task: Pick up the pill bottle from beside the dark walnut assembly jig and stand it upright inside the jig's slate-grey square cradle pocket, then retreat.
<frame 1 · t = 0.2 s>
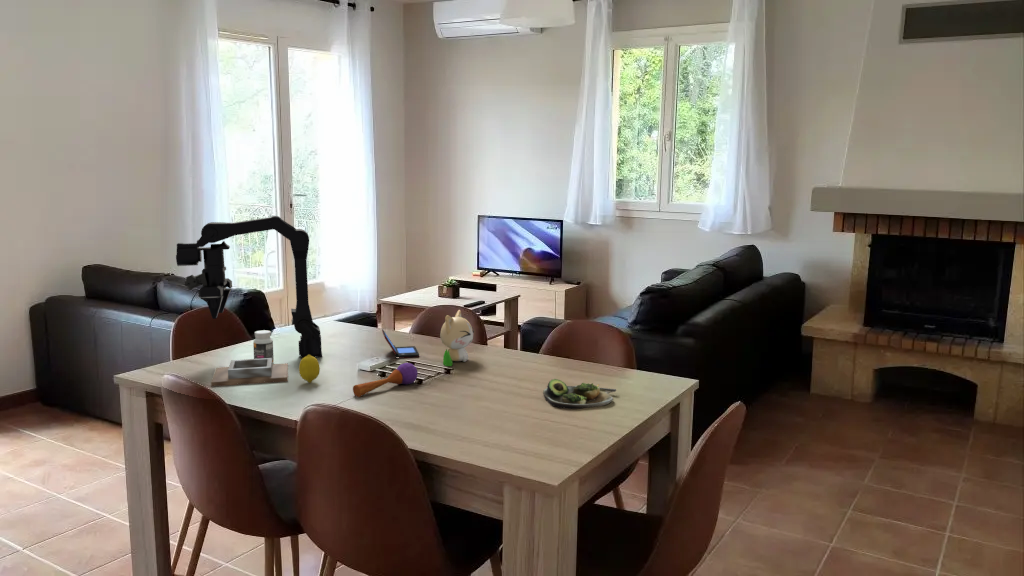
hand: (217, 315, 244), 14 cm above the table, fingers open, 9 cm apart
jig: (251, 376, 230), on the table
handheld game console: (400, 355, 257), on the table
pill bottle: (264, 364, 244), on the table
kitten: (456, 361, 248), on the table
salad plate: (575, 401, 208), on the table
lemon: (309, 383, 223), on the table
purple and orange maraca: (386, 390, 218), on the table
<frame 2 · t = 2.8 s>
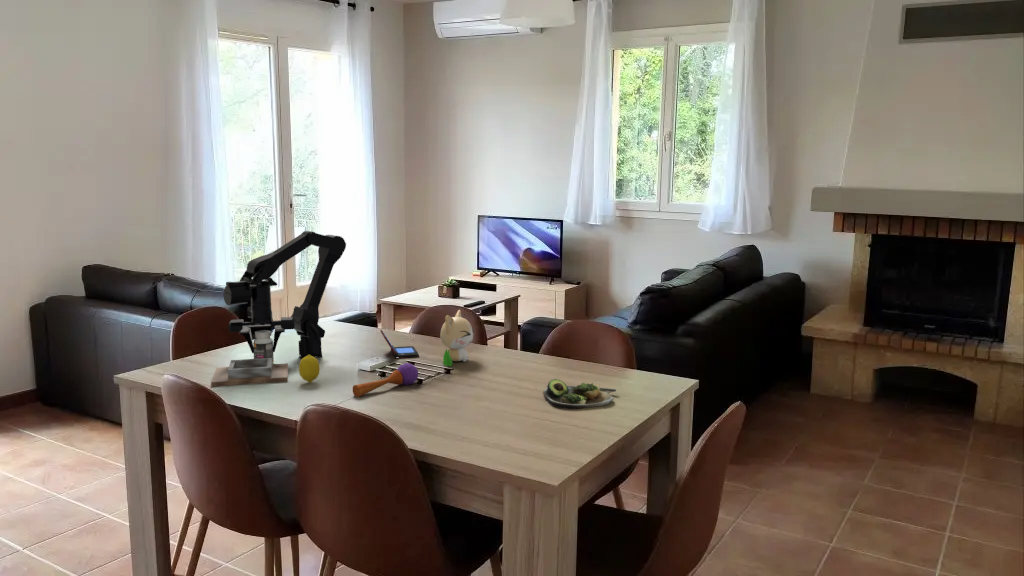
hand: (263, 352, 243), 4 cm above the table, fingers closed on pill bottle, 6 cm apart
pill bottle: (264, 364, 244), on the table, touching gripper
everything else where it was.
when the fingers open (6 cm above the table, at t = 9.5 s): pill bottle drops 1 cm, resting on jig.
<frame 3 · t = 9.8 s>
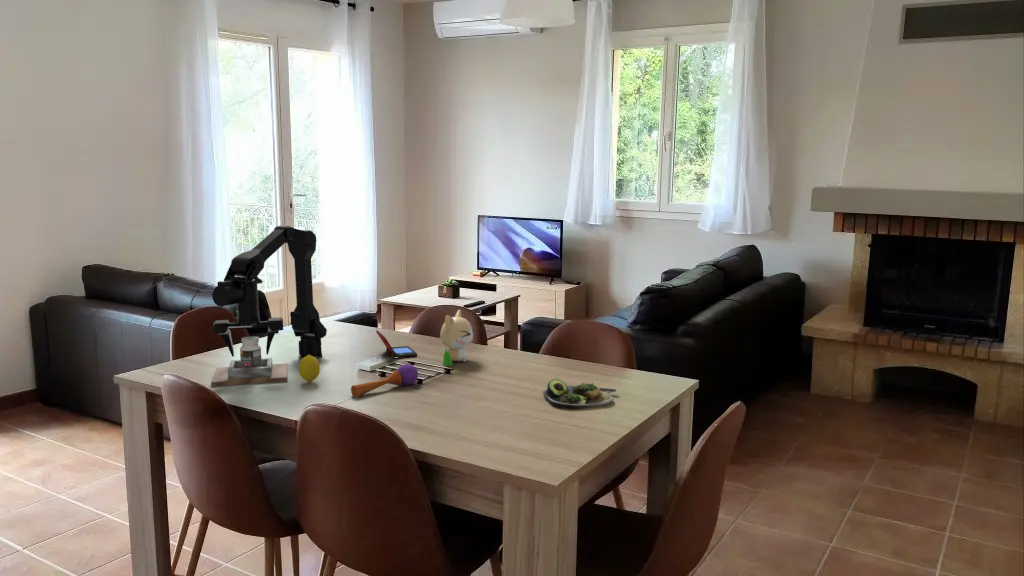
hand: (250, 355, 229), 6 cm above the table, fingers open, 9 cm apart
pill bottle: (251, 372, 230), point 1 cm above the table, touching jig
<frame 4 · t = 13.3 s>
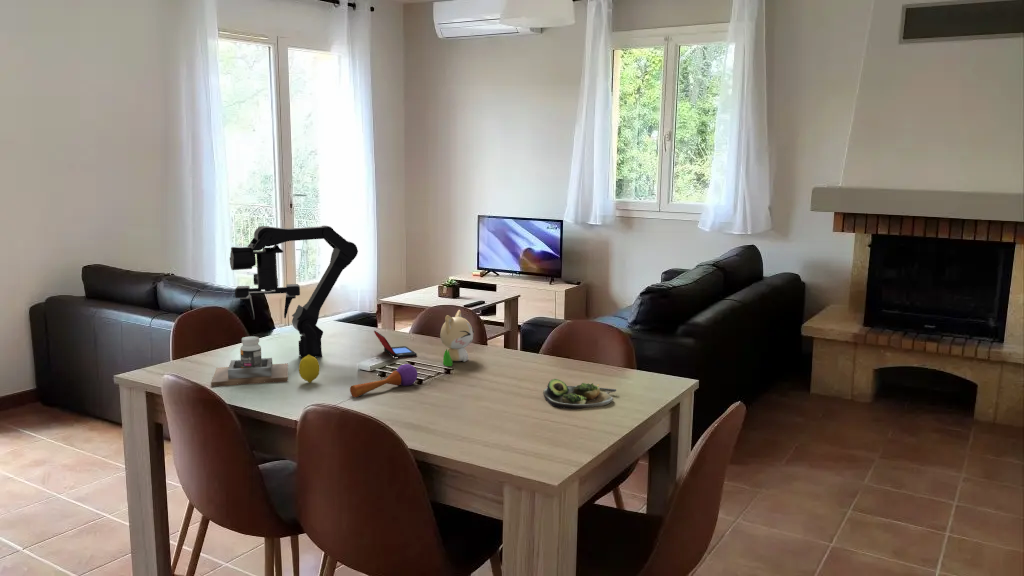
hand: (269, 318, 246), 13 cm above the table, fingers open, 9 cm apart
at the end: pill bottle 0.2 cm off-centre on the jig, point 1.0 cm above the jig's base; pill bottle tilted 0° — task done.
